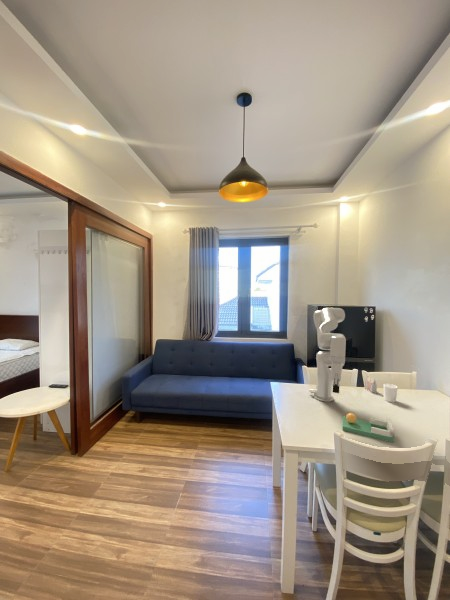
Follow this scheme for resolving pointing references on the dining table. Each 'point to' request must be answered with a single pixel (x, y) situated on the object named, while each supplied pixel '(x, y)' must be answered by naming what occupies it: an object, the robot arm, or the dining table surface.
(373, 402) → the dining table surface
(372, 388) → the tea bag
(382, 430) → the green
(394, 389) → the white cup
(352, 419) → the ball
